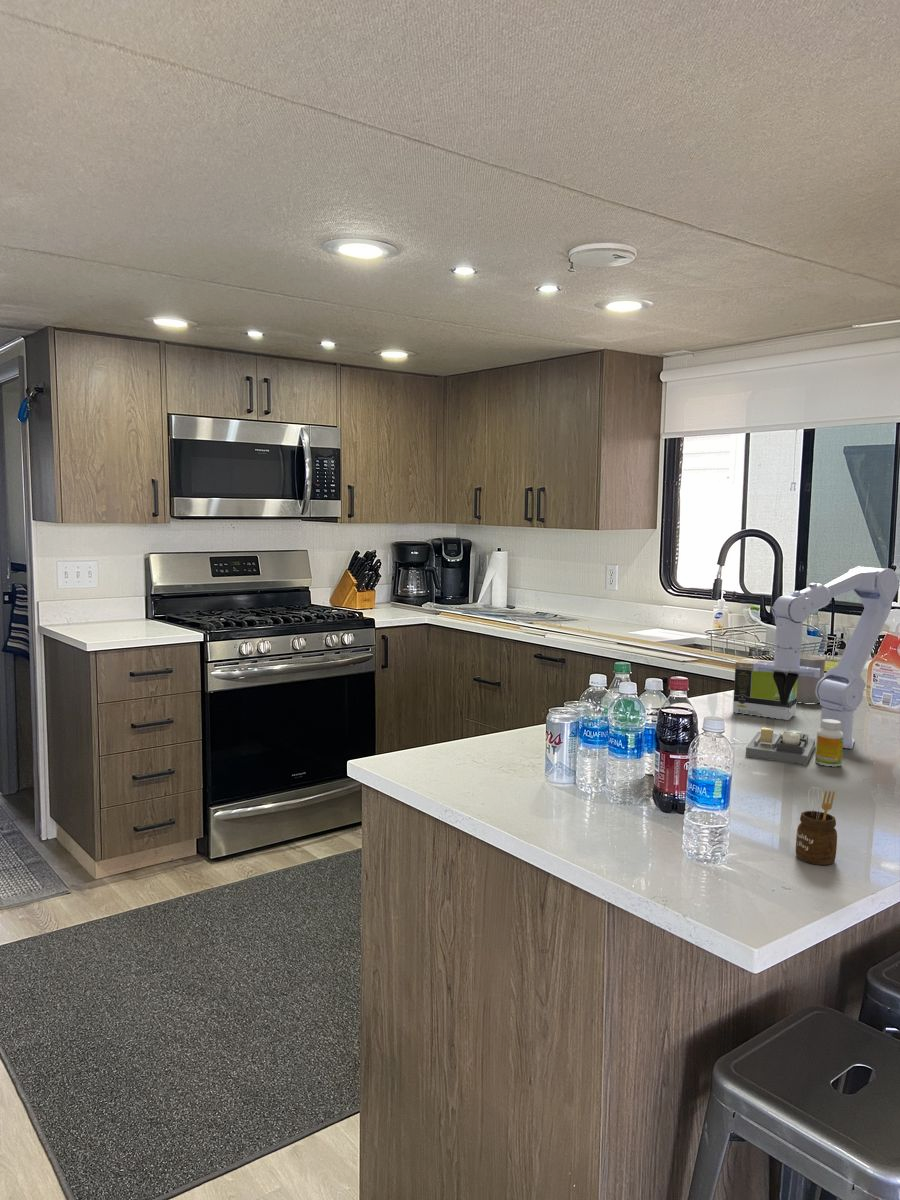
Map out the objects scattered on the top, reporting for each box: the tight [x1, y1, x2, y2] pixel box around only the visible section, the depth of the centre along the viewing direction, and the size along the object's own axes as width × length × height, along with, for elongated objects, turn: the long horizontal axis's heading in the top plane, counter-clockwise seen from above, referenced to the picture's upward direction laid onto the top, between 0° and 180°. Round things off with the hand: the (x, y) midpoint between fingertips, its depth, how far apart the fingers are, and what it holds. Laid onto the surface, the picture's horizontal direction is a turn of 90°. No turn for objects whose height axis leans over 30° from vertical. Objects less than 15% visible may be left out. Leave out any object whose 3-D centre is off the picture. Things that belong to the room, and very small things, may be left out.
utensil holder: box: [795, 786, 838, 866], centre depth 141 cm, size 6×6×12 cm
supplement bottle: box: [814, 719, 843, 768], centre depth 198 cm, size 5×5×10 cm
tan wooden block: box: [760, 727, 774, 743], centre depth 206 cm, size 2×2×3 cm
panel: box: [745, 731, 816, 766], centre depth 207 cm, size 18×13×4 cm
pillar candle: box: [796, 651, 827, 703], centre depth 268 cm, size 10×10×15 cm
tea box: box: [732, 658, 798, 721], centre depth 248 cm, size 15×10×15 cm
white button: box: [782, 731, 800, 746], centre depth 202 cm, size 4×4×2 cm
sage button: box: [786, 730, 804, 738], centre depth 209 cm, size 4×4×2 cm
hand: (783, 704), depth 210 cm, fingers closed
